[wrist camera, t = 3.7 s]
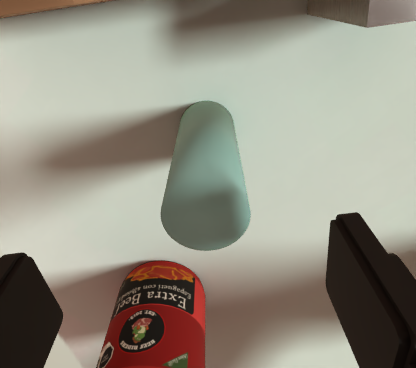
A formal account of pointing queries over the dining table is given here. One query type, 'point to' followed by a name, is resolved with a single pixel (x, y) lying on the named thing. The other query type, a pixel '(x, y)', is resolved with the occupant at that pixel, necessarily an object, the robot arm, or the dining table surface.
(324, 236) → the dining table surface
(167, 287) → the canned food
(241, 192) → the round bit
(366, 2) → the flat bit
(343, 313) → the robot arm
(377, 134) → the dining table surface
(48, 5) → the socket block
